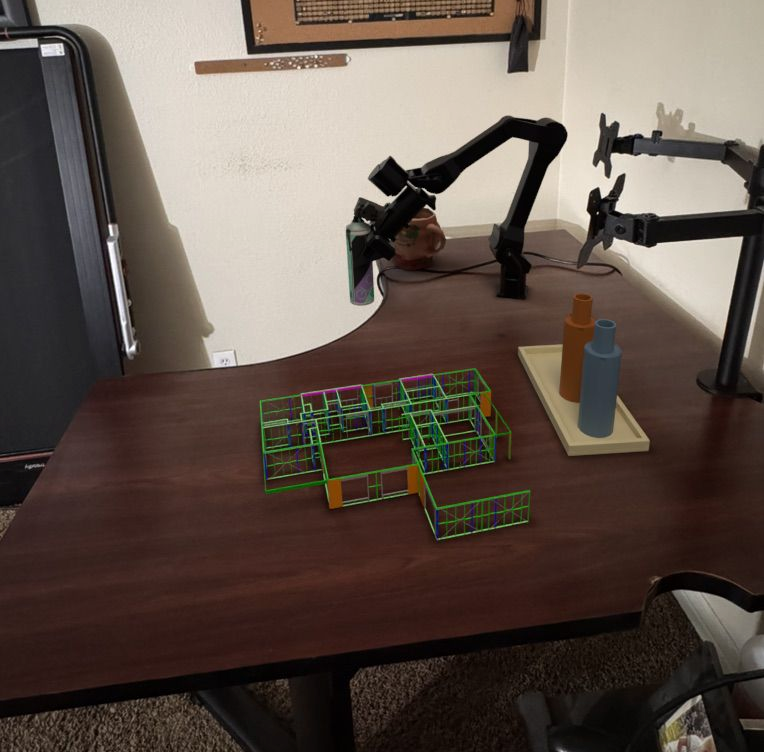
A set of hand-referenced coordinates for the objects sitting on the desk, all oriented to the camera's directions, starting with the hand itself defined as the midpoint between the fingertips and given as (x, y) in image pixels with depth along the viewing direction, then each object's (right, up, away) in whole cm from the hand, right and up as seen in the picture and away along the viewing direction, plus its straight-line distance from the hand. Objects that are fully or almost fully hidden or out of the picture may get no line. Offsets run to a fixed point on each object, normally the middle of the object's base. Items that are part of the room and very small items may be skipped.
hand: (353, 261), depth 138 cm
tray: (+38, -22, -35) cm, 56 cm away
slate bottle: (+38, -25, -43) cm, 63 cm away
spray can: (+2, -9, +3) cm, 10 cm away
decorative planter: (+15, -2, +22) cm, 27 cm away
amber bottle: (+38, -22, -35) cm, 56 cm away
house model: (+8, -28, -49) cm, 57 cm away
